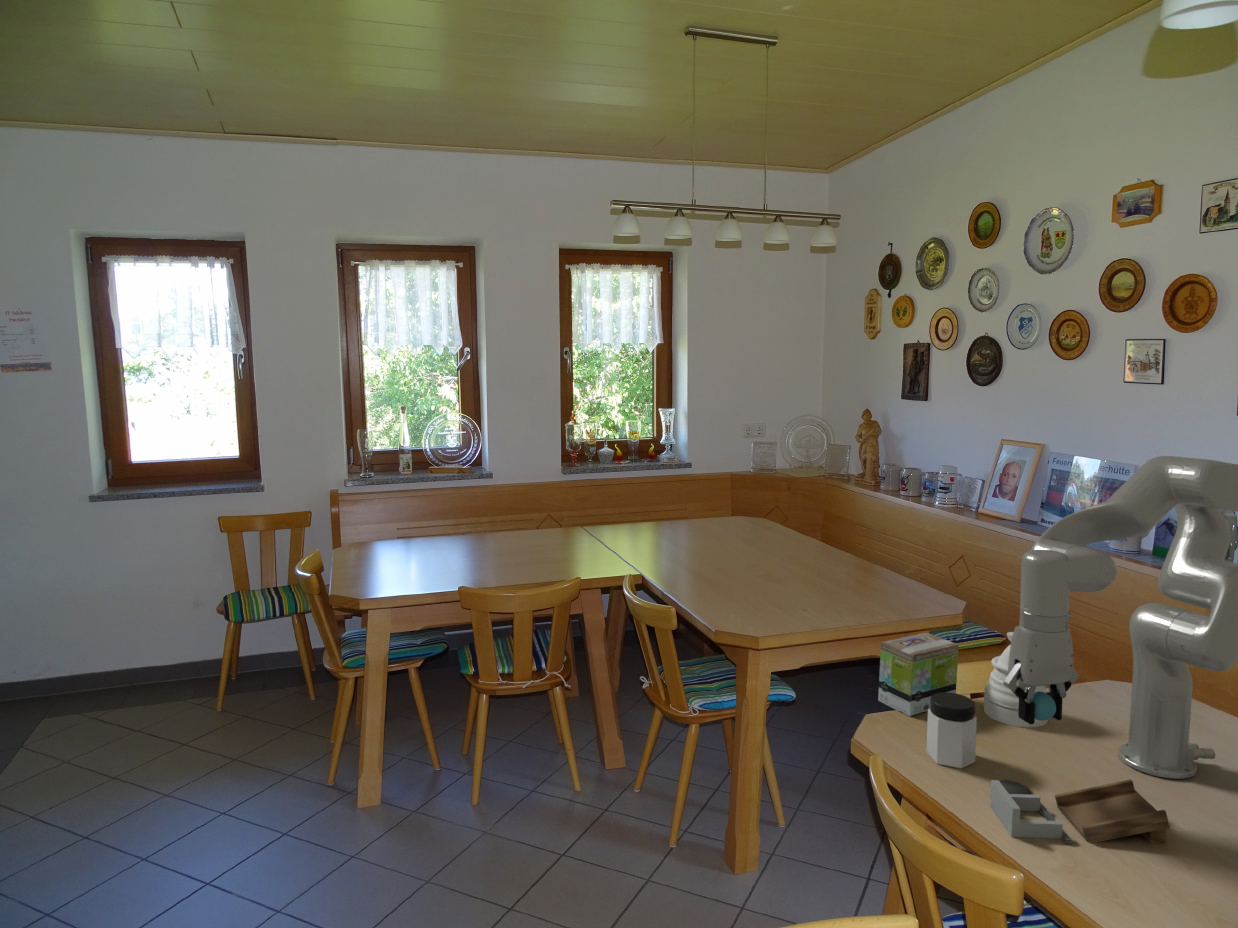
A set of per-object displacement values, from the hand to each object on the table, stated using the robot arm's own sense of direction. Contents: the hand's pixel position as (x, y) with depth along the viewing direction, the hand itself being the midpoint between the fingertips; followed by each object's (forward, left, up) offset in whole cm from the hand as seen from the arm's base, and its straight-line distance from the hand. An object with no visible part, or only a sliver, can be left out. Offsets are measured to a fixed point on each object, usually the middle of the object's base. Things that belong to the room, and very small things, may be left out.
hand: (1039, 717), depth 138 cm
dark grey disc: (+3, -2, -15) cm, 16 cm away
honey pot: (-11, -35, -15) cm, 39 cm away
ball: (0, 0, +2) cm, 2 cm away
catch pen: (+5, +8, -15) cm, 18 cm away
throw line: (+1, +8, -15) cm, 17 cm away
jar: (+10, -14, -15) cm, 23 cm away
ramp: (-9, +8, -15) cm, 19 cm away
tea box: (+9, -40, -15) cm, 44 cm away
